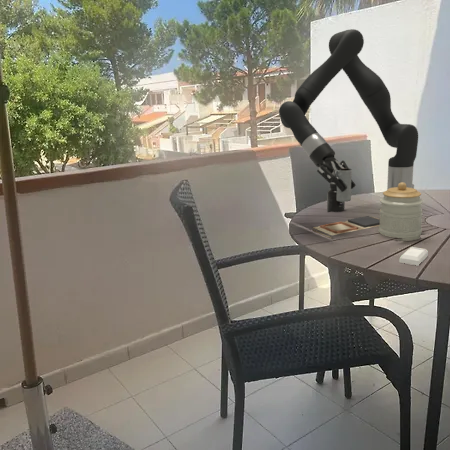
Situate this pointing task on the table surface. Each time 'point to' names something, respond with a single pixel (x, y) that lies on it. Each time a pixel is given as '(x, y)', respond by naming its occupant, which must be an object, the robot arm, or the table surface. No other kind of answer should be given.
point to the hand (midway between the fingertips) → (349, 188)
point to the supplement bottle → (334, 200)
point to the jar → (401, 213)
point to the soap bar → (414, 256)
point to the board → (339, 228)
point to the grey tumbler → (346, 178)
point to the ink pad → (365, 221)
